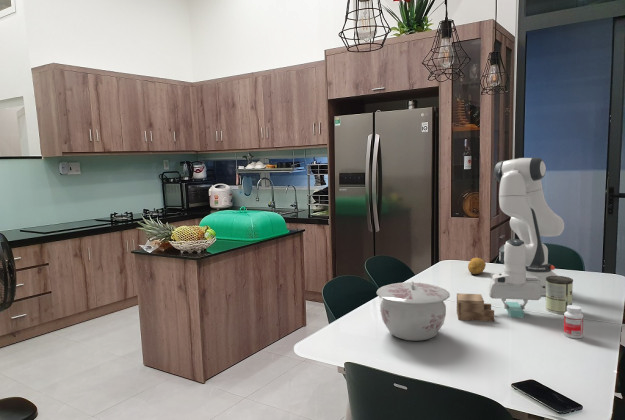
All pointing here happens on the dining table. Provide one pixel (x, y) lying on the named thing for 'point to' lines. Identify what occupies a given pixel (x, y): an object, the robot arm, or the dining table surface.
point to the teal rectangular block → (514, 309)
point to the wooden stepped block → (473, 308)
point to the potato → (476, 265)
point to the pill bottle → (573, 322)
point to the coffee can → (558, 293)
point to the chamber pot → (413, 309)
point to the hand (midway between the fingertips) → (514, 308)
